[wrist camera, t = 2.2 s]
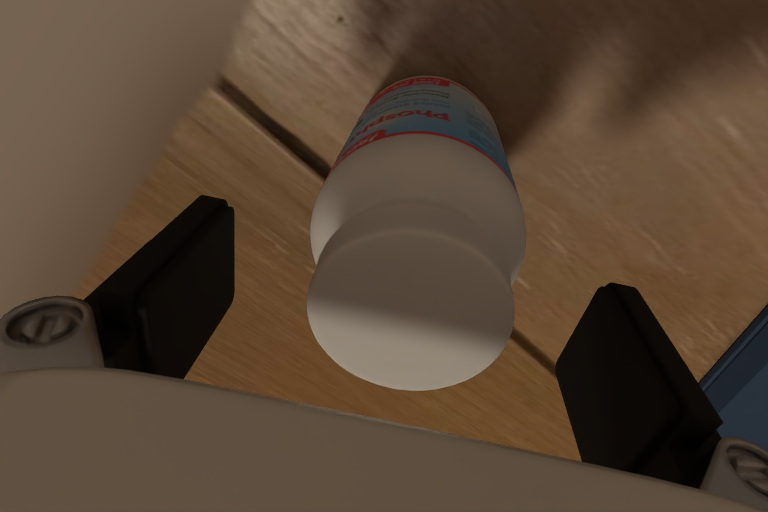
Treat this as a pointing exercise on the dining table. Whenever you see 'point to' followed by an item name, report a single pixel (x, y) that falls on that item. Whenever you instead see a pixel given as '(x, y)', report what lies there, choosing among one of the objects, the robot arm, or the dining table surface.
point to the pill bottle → (417, 240)
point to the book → (742, 385)
